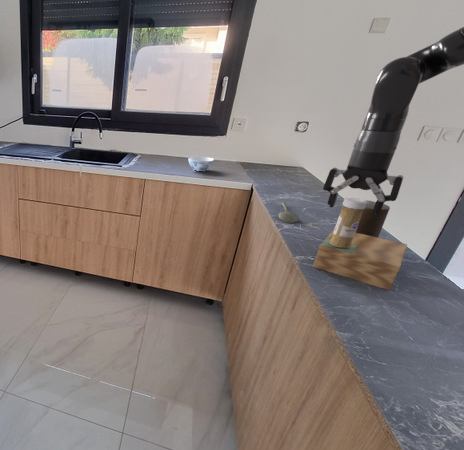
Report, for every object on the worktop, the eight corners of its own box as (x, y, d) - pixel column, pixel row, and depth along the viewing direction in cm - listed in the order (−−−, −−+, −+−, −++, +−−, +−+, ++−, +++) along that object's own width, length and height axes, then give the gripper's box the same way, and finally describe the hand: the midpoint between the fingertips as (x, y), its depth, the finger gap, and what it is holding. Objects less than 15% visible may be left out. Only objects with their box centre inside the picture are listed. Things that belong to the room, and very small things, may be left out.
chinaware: (187, 172, 196) (188, 160, 193) (186, 167, 209) (188, 156, 206) (213, 174, 191) (215, 161, 188) (210, 168, 204) (212, 157, 201)
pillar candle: (363, 252, 97) (381, 207, 91) (328, 239, 106) (343, 198, 100) (381, 246, 101) (399, 202, 95) (346, 234, 109) (361, 193, 103)
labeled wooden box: (397, 265, 89) (407, 243, 87) (389, 290, 79) (400, 266, 76) (328, 247, 101) (335, 227, 98) (312, 267, 90) (320, 245, 87)
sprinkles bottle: (344, 250, 84) (362, 203, 79) (325, 243, 88) (341, 198, 82) (353, 246, 86) (371, 200, 80) (334, 240, 89) (350, 196, 84)
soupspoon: (277, 222, 122) (297, 226, 119) (280, 215, 120) (300, 218, 117) (274, 204, 139) (291, 206, 136) (276, 197, 137) (294, 199, 134)
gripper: (417, 150, 74) (390, 213, 80) (340, 144, 84) (322, 201, 90) (414, 154, 69) (386, 221, 75) (333, 147, 79) (315, 207, 85)
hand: (351, 210), depth 83 cm, fingers open, 8 cm apart
